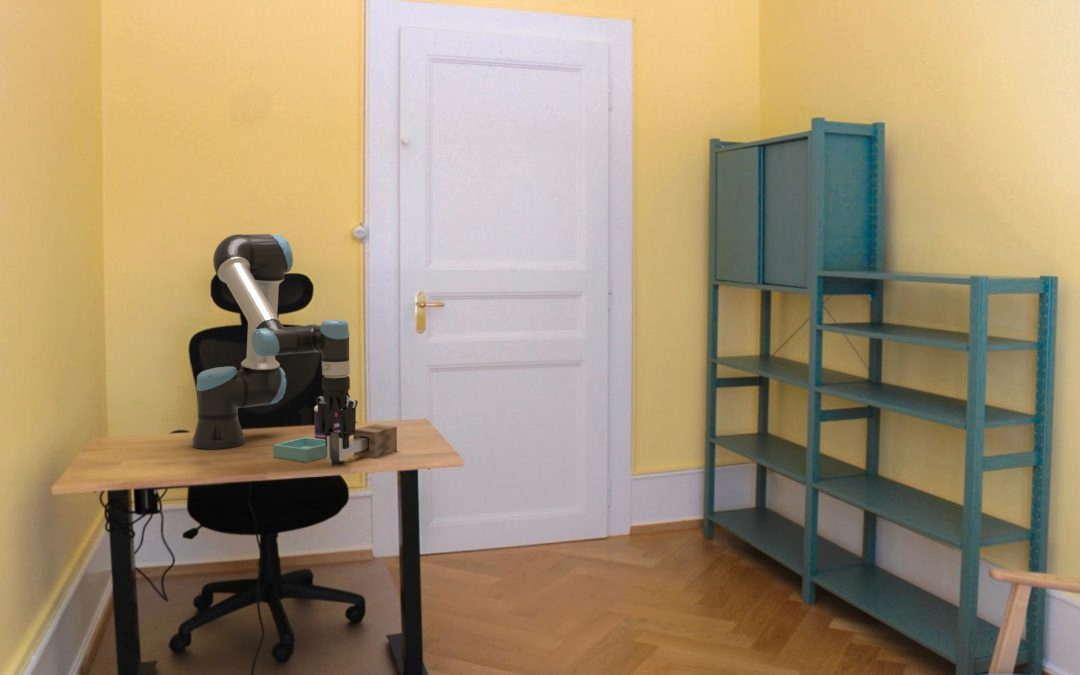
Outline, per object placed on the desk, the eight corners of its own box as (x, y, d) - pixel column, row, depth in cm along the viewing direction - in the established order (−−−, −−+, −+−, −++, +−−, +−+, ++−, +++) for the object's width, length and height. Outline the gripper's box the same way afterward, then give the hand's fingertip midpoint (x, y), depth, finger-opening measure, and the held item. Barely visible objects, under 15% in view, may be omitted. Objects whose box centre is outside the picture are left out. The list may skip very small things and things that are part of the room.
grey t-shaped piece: (338, 465, 265) (337, 433, 264) (328, 464, 267) (327, 432, 266) (378, 453, 280) (378, 423, 279) (369, 452, 282) (368, 422, 281)
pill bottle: (335, 446, 291) (334, 399, 290) (310, 445, 293) (309, 398, 291) (345, 441, 299) (344, 395, 298) (321, 440, 301) (320, 394, 299)
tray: (273, 457, 277) (272, 444, 276) (305, 448, 288) (304, 437, 288) (306, 462, 270) (306, 449, 270) (338, 453, 282) (337, 441, 281)
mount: (375, 458, 275) (374, 432, 275) (353, 455, 279) (353, 429, 279) (397, 451, 284) (396, 426, 283) (375, 448, 288) (375, 424, 287)
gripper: (303, 375, 266) (305, 458, 268) (350, 379, 258) (351, 465, 260) (322, 372, 272) (324, 453, 275) (368, 376, 264) (369, 459, 267)
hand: (337, 458), depth 267 cm, fingers closed on grey t-shaped piece, 4 cm apart
